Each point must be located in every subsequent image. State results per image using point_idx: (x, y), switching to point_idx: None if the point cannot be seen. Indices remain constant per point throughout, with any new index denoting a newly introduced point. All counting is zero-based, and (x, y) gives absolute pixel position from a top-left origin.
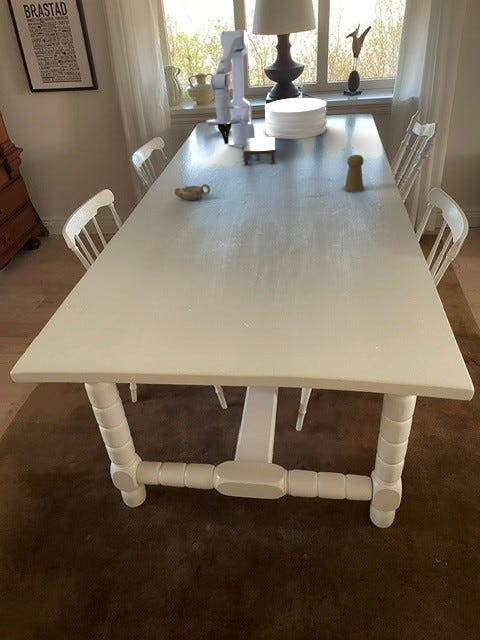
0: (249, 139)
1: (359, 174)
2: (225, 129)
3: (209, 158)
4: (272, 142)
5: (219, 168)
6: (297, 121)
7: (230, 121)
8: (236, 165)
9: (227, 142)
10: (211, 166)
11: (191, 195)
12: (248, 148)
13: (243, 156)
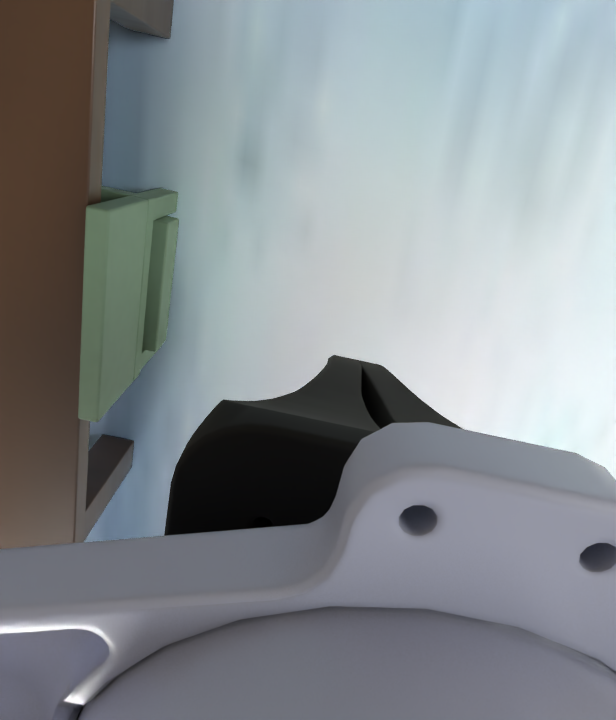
0: (25, 525)
1: None
2: (376, 429)
3: (515, 439)
4: None
5: (511, 5)
6: None
7: (124, 566)
8: (280, 51)
9: (338, 356)
10: (580, 144)
11: None
12: (17, 75)
13: (161, 198)
